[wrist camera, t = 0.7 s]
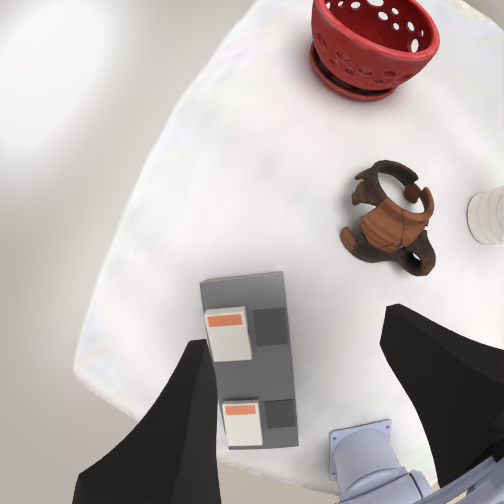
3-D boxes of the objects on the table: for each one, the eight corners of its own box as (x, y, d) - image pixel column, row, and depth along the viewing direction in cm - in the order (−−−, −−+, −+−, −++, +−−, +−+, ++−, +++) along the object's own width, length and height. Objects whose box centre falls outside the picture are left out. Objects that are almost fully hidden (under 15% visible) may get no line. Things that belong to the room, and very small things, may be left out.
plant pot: (316, 112, 30) (331, 49, 18) (298, 33, 30) (302, -31, 18) (415, 115, 29) (461, 67, 17) (387, 38, 29) (413, -16, 17)
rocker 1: (252, 351, 27) (251, 359, 26) (216, 354, 27) (214, 362, 26) (245, 305, 26) (243, 311, 25) (206, 308, 26) (203, 315, 25)
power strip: (297, 432, 30) (298, 446, 27) (232, 435, 31) (228, 450, 27) (282, 271, 30) (282, 273, 27) (206, 279, 31) (199, 282, 28)
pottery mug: (314, 221, 30) (343, 169, 23) (365, 190, 34) (395, 143, 27) (388, 309, 27) (439, 276, 19) (429, 262, 30) (472, 226, 23)
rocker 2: (263, 439, 26) (262, 445, 25) (230, 440, 26) (227, 446, 25) (258, 398, 27) (257, 403, 26) (224, 400, 27) (221, 404, 26)
